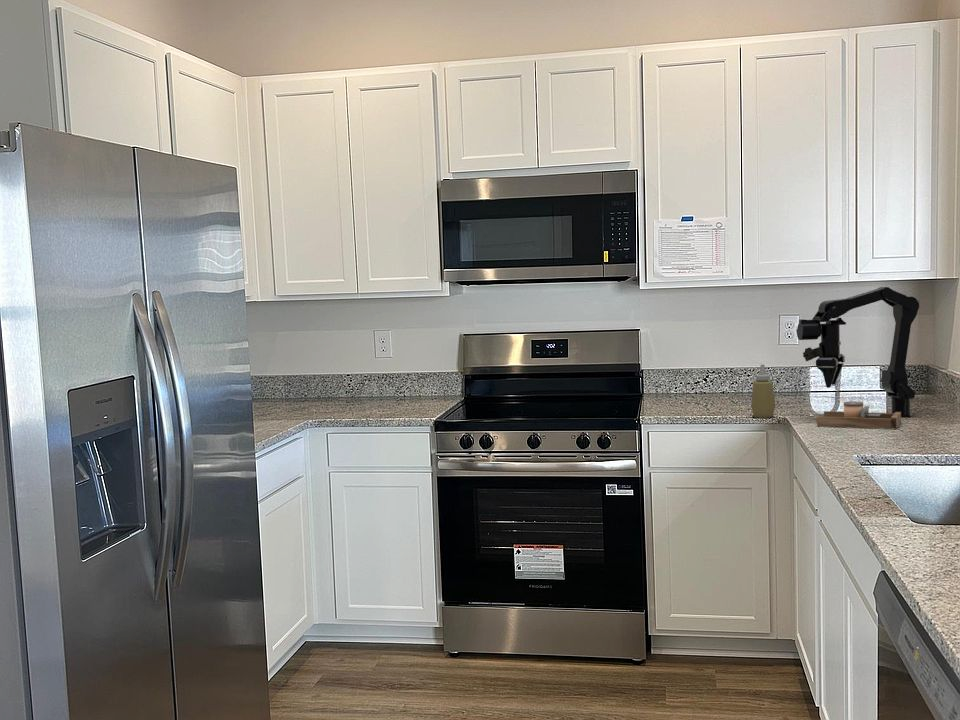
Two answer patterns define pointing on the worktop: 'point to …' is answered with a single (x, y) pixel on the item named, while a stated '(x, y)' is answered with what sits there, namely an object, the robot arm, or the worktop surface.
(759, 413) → the squeeze bottle
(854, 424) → the tray
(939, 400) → the worktop surface
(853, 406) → the jar
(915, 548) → the worktop surface
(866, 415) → the pusher
